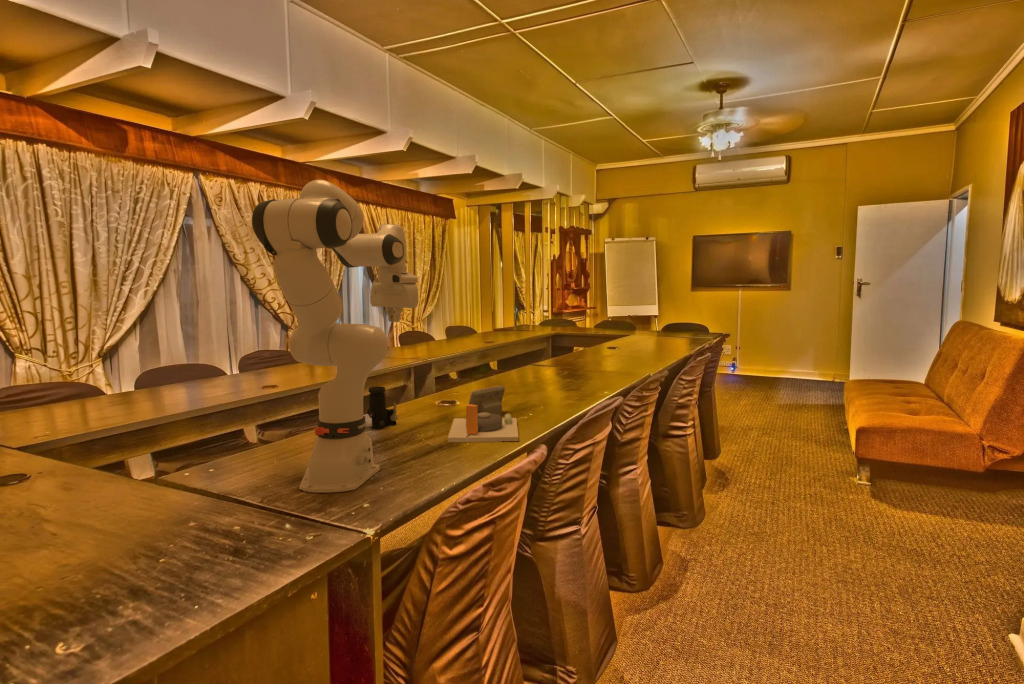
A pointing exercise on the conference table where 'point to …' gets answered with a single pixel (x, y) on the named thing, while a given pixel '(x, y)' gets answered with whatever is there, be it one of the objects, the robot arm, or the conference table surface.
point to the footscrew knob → (481, 420)
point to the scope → (380, 409)
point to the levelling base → (484, 432)
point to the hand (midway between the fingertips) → (393, 321)
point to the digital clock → (488, 399)
